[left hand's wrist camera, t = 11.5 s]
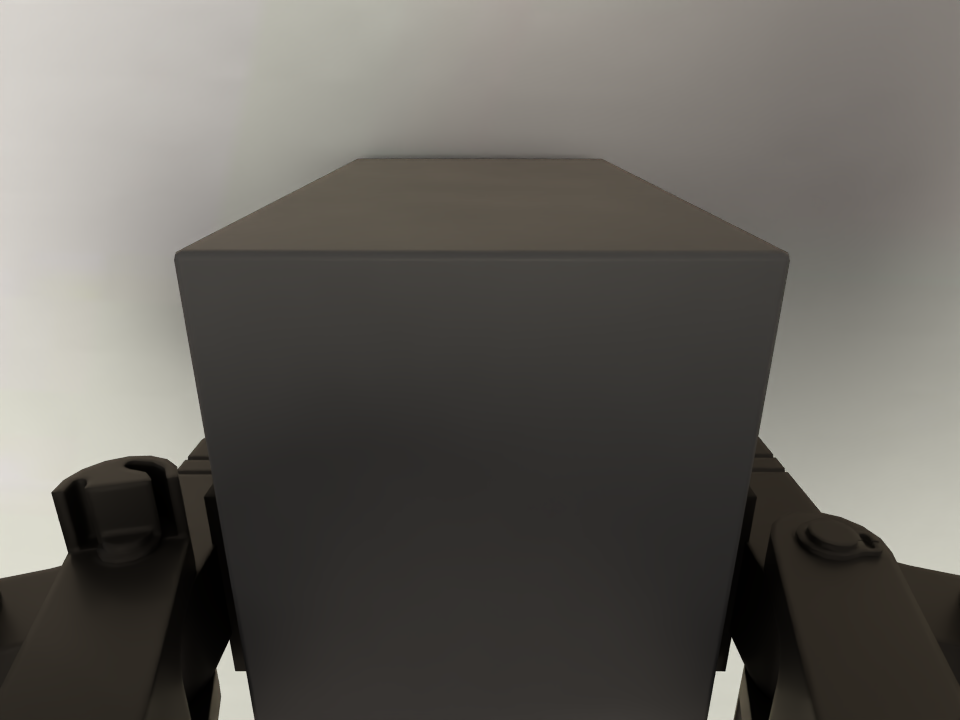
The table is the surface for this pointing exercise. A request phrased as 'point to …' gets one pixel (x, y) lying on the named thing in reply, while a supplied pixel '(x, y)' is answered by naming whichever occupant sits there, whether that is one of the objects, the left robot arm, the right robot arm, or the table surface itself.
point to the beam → (481, 438)
